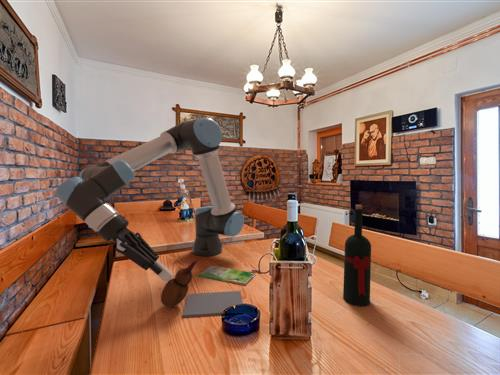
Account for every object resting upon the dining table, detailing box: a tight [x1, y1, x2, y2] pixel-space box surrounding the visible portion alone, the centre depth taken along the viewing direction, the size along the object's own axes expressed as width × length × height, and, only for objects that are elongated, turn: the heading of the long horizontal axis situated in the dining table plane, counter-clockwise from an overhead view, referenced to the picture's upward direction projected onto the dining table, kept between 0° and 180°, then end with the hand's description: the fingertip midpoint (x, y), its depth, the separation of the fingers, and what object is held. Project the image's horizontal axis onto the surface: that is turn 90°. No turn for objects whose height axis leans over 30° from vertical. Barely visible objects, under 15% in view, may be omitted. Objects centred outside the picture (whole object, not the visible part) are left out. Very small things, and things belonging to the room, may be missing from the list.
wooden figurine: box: [160, 259, 198, 308], centre depth 72 cm, size 7×6×15 cm
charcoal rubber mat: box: [182, 290, 244, 318], centre depth 74 cm, size 17×12×1 cm
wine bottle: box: [342, 204, 372, 307], centre depth 74 cm, size 8×10×30 cm
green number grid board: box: [198, 265, 257, 287], centre depth 94 cm, size 20×1×10 cm
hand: (169, 278), depth 71 cm, fingers closed
